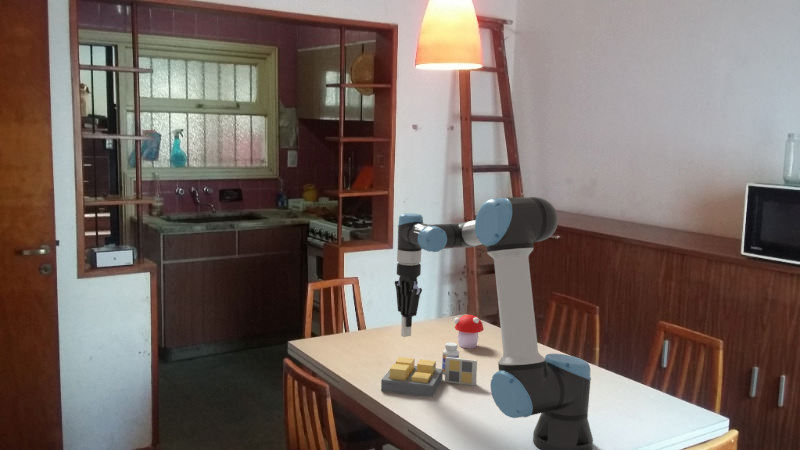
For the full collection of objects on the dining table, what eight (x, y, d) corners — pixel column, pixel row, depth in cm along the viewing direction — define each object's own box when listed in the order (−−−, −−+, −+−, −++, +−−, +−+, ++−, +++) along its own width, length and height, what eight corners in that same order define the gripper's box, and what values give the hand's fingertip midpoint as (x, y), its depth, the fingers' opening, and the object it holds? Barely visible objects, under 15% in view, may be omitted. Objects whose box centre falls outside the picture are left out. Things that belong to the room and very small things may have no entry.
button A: (427, 391, 219) (427, 378, 218) (411, 389, 220) (411, 377, 219) (430, 386, 224) (431, 373, 223) (415, 384, 225) (415, 371, 224)
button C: (432, 378, 225) (432, 365, 225) (416, 376, 226) (417, 364, 226) (435, 373, 230) (435, 361, 229) (420, 371, 231) (420, 359, 231)
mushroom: (448, 343, 272) (449, 312, 271) (473, 340, 277) (474, 309, 275) (462, 351, 263) (463, 319, 261) (488, 348, 267) (489, 316, 266)
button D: (410, 375, 227) (410, 363, 226) (395, 373, 228) (395, 361, 228) (414, 370, 232) (414, 358, 231) (399, 368, 233) (399, 356, 232)
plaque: (475, 385, 227) (476, 361, 226) (444, 382, 230) (445, 357, 229) (476, 384, 229) (477, 360, 228) (445, 380, 231) (446, 356, 230)
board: (432, 397, 216) (432, 385, 216) (381, 390, 220) (381, 379, 220) (442, 379, 232) (442, 369, 231) (394, 374, 236) (394, 363, 235)
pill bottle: (439, 373, 238) (440, 344, 237) (445, 368, 243) (447, 340, 242) (454, 376, 236) (455, 347, 234) (460, 371, 240) (461, 343, 239)
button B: (405, 382, 220) (405, 370, 220) (389, 381, 221) (389, 368, 221) (409, 377, 225) (409, 365, 224) (393, 375, 226) (393, 363, 226)
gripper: (430, 266, 221) (427, 340, 225) (408, 258, 232) (405, 329, 236) (409, 267, 218) (406, 343, 221) (388, 259, 229) (385, 331, 232)
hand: (406, 335), depth 228 cm, fingers closed
